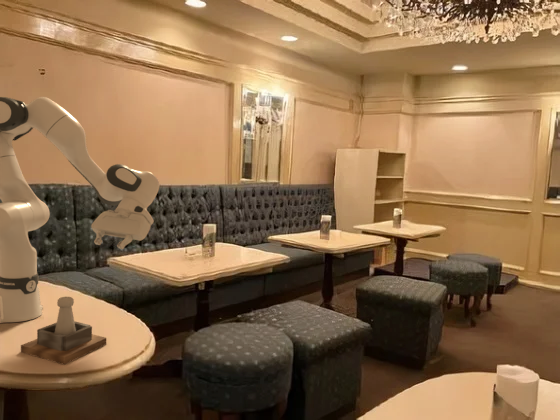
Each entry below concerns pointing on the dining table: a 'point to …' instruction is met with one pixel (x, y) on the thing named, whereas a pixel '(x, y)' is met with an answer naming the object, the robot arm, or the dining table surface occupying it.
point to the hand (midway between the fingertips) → (108, 245)
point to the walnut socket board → (63, 343)
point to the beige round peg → (65, 316)
